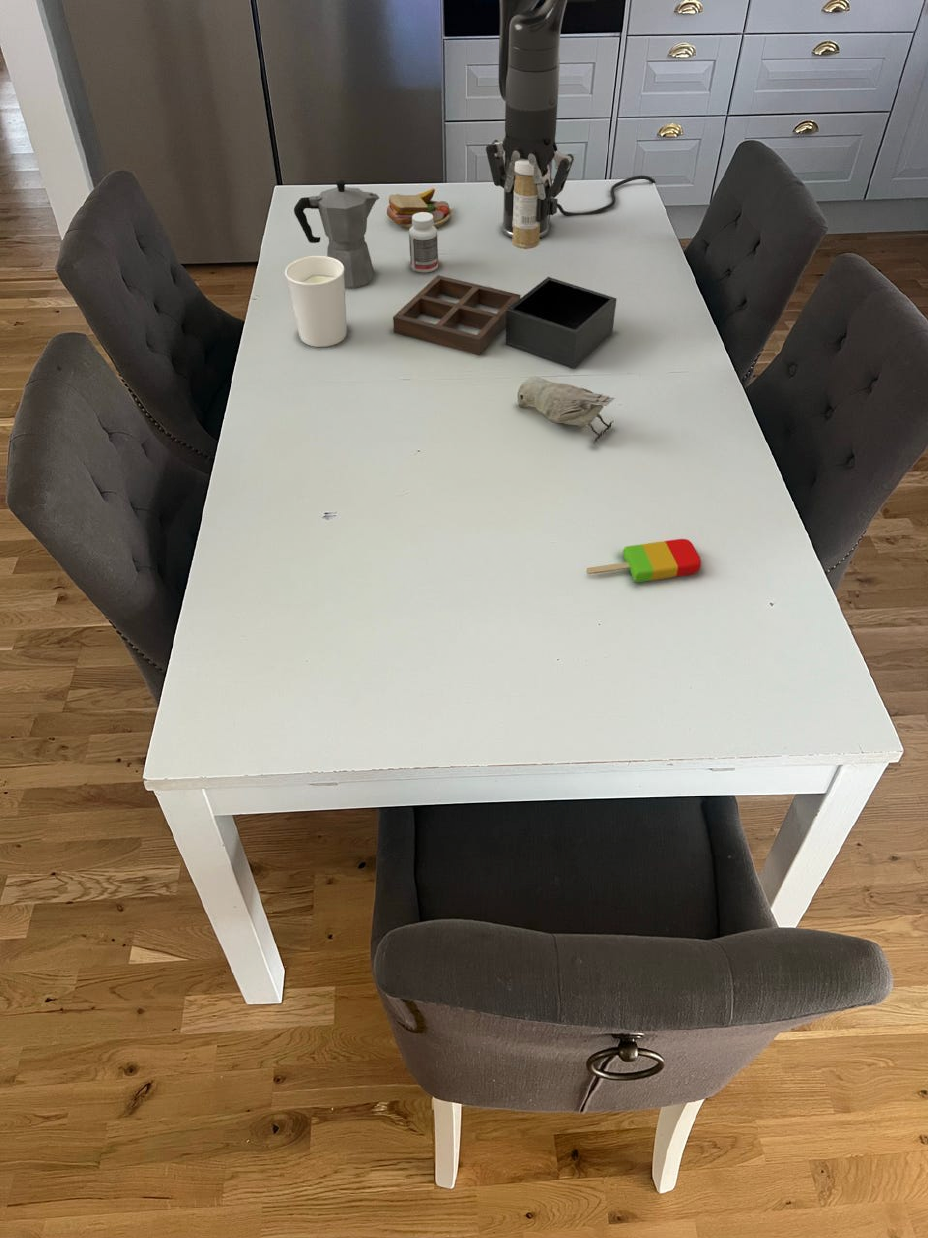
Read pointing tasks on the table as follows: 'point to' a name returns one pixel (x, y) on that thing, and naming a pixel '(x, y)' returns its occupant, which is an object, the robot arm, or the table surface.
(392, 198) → the toy sandwich meal
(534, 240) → the sprinkles bottle
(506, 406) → the table surface
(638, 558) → the popsicle
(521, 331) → the open box
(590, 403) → the decorative bird
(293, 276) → the candle holder
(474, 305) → the wooden cubby shelf
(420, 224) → the pill bottle
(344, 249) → the coffeepot
